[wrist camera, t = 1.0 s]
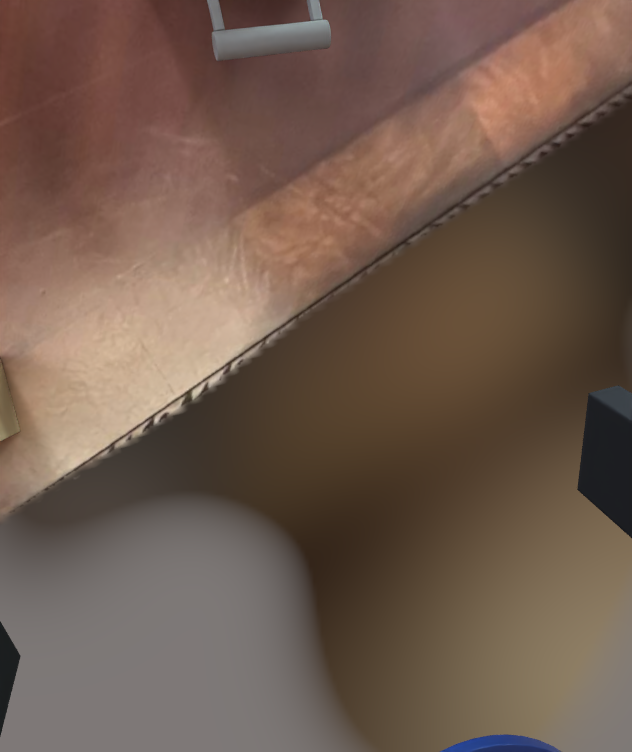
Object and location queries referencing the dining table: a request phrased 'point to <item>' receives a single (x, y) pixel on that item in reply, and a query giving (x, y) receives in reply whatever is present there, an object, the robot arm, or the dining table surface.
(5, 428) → the block
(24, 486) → the dining table surface
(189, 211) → the dining table surface
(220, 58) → the drawer
